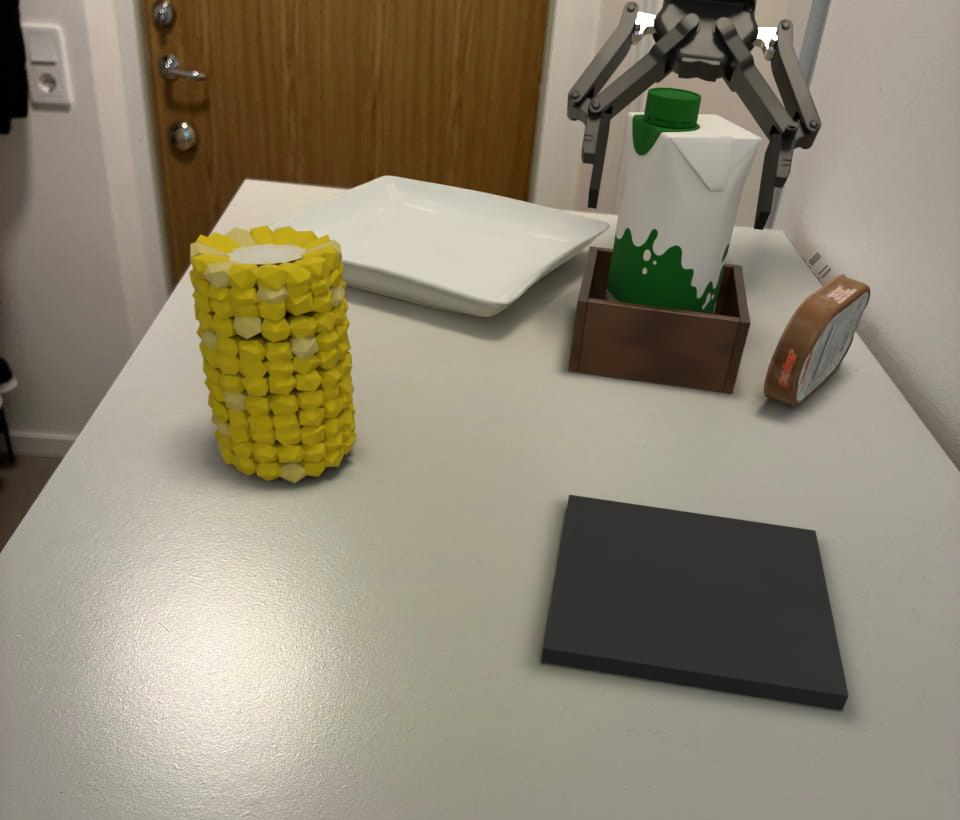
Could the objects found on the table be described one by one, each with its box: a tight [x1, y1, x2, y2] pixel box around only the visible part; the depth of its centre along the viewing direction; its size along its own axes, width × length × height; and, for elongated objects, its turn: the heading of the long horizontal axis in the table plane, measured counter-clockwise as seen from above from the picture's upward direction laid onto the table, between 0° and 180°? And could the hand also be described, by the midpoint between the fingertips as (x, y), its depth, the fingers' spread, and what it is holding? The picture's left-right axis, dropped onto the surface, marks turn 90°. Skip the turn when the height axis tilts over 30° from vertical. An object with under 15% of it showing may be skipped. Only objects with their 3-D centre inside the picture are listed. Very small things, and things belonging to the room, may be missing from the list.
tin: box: [763, 273, 871, 407], centre depth 80 cm, size 15×3×8 cm, turn 145°
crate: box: [567, 245, 751, 394], centre depth 84 cm, size 14×14×6 cm
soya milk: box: [605, 87, 763, 314], centre depth 80 cm, size 9×9×20 cm
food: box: [188, 224, 357, 485], centre depth 63 cm, size 15×12×10 cm
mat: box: [541, 494, 849, 710], centre depth 58 cm, size 16×16×1 cm
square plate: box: [267, 174, 611, 318], centre depth 97 cm, size 27×27×4 cm
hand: (676, 210), depth 79 cm, fingers open, 13 cm apart
